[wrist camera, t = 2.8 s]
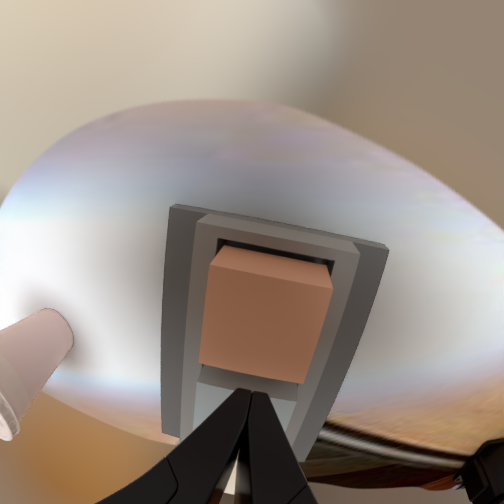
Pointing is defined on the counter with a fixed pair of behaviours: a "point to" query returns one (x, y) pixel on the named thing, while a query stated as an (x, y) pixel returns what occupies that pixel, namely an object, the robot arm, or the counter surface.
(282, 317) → the key terracotta
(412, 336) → the counter surface
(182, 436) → the keypad
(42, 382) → the smoothie
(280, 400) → the key slate
